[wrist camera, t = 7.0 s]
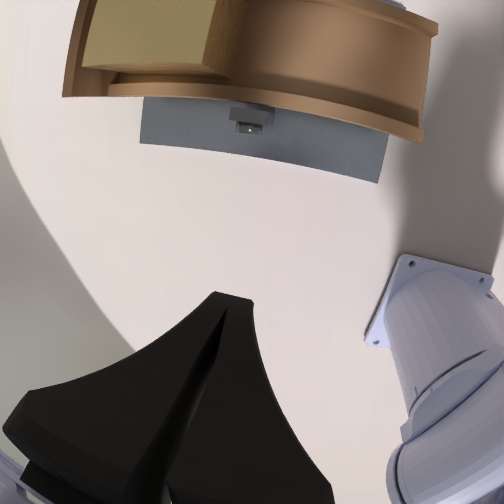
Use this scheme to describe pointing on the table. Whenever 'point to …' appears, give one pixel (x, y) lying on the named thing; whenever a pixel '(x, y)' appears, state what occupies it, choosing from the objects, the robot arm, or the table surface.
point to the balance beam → (297, 64)
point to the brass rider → (166, 37)
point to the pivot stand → (265, 133)
